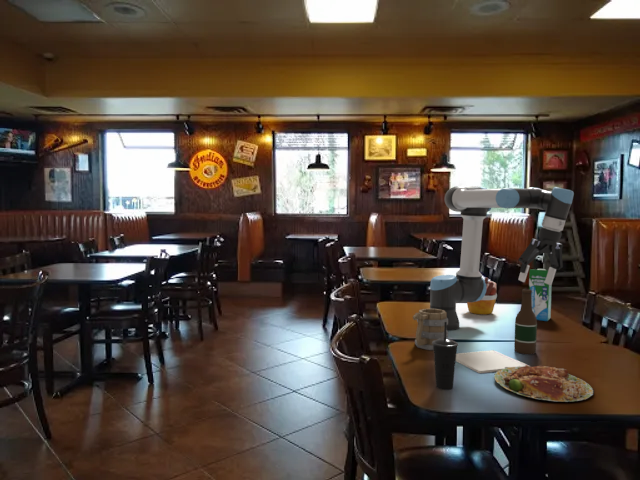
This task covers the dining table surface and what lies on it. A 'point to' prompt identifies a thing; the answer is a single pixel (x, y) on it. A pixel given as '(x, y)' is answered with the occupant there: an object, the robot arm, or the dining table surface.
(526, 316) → the beer bottle
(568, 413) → the dining table surface
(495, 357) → the square board
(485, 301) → the bucket of meat
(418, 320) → the tankard
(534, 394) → the rice dish
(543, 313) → the milk carton
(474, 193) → the robot arm
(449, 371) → the drinking cup
